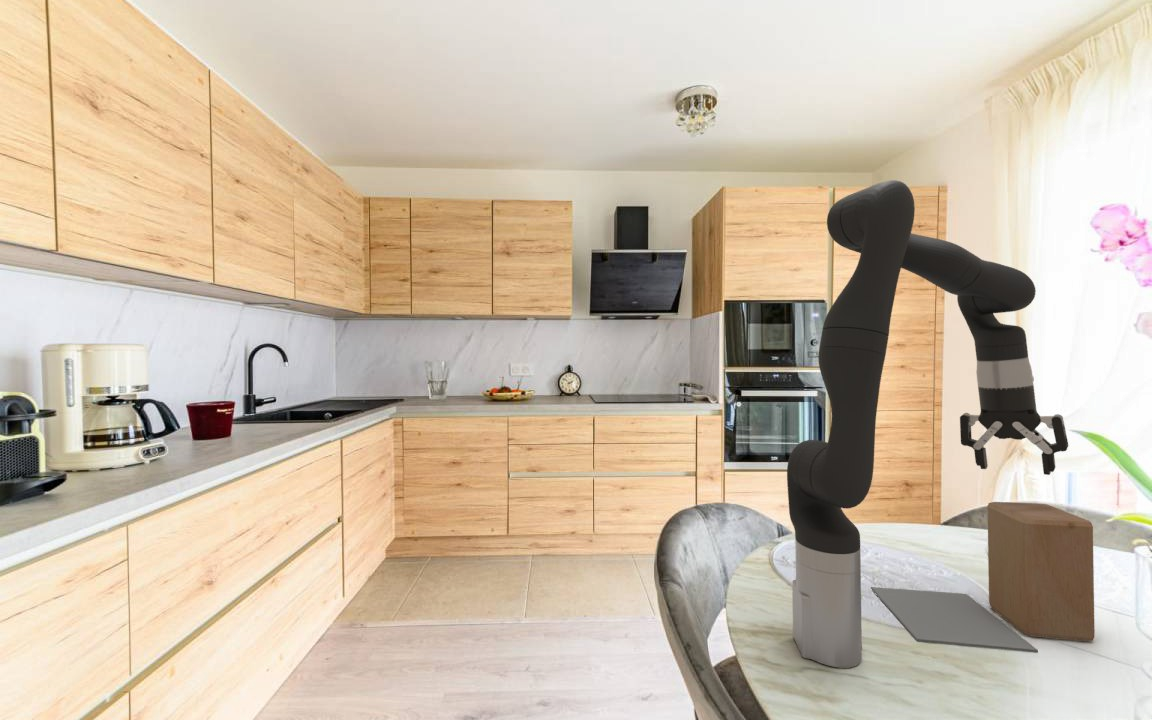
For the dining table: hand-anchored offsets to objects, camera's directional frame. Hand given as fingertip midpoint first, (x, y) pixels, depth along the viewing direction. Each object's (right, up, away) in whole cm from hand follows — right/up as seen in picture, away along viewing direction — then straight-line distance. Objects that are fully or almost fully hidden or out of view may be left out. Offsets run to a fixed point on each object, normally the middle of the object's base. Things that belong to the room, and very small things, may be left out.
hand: (1014, 470), depth 86 cm
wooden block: (0, -26, -4) cm, 26 cm away
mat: (-14, -26, -2) cm, 30 cm away
